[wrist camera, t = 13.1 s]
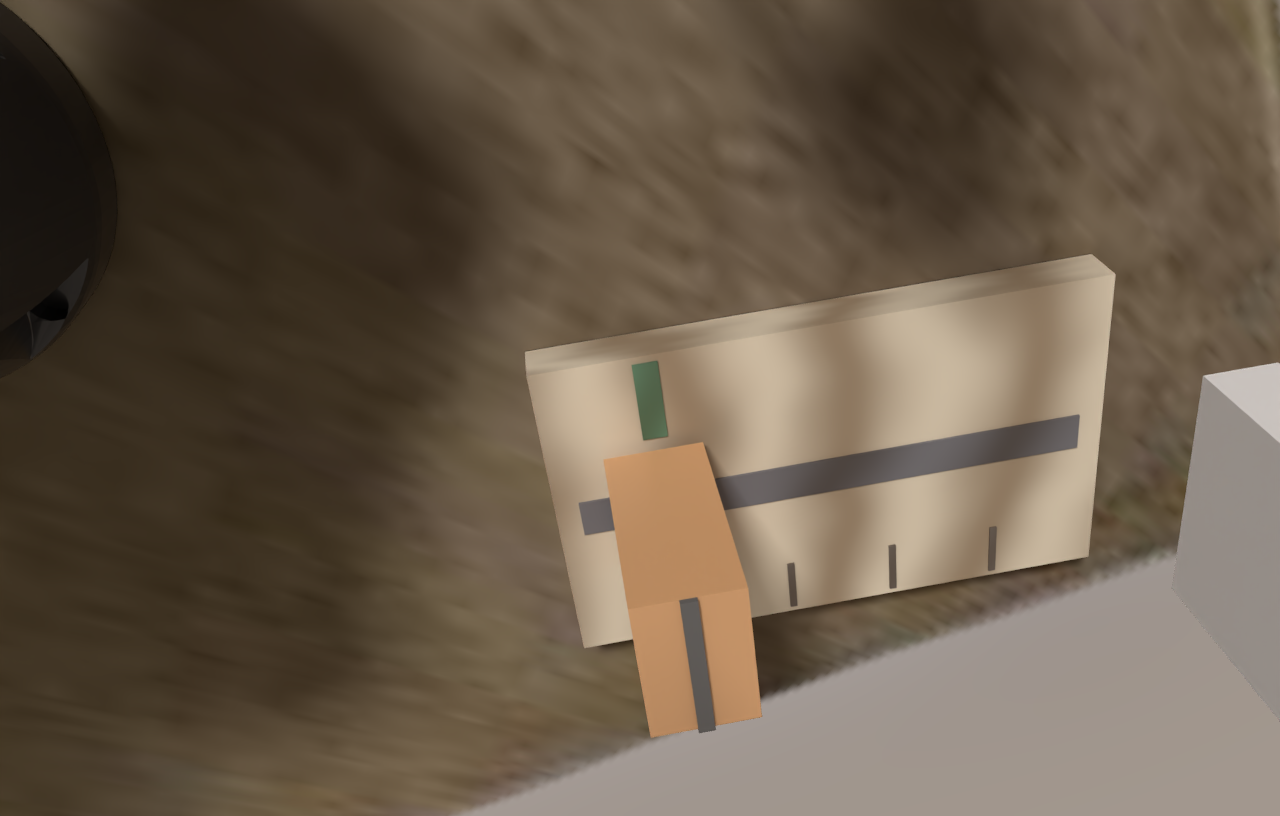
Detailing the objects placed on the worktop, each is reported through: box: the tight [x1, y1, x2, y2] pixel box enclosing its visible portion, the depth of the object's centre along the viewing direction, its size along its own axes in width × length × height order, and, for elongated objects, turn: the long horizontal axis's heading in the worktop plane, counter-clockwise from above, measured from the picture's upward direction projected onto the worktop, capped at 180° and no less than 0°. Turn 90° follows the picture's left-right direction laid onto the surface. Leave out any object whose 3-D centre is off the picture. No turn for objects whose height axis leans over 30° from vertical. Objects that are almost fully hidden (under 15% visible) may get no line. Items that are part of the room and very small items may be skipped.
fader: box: [603, 442, 762, 737], centre depth 42 cm, size 4×6×9 cm, turn 8°
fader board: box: [525, 254, 1115, 648], centre depth 47 cm, size 23×14×2 cm, turn 98°
